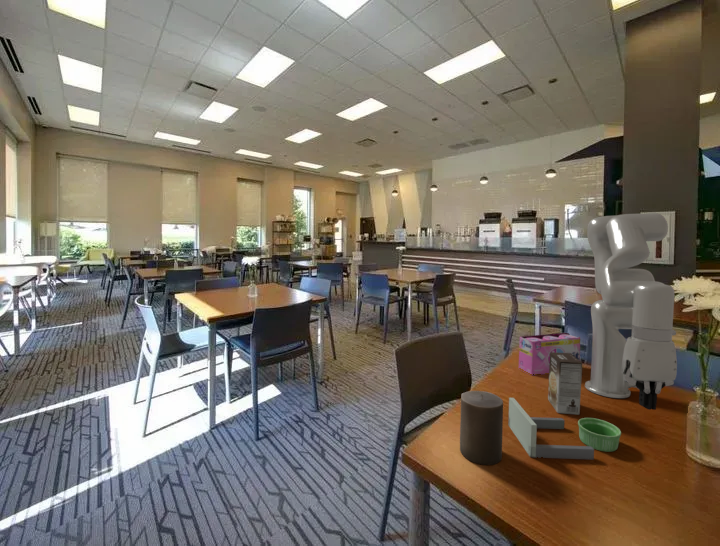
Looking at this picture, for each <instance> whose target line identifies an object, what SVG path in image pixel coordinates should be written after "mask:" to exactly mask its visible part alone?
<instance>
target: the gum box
mask: <svg viewBox="0 0 720 546" xmlns="http://www.w3.org/2000/svg"><path fill="white" fill-rule="evenodd" d="M518 343H519V347H518V349H519V351H518V369H519V368H521V369H523V370H524V371H526V372H528V373H530V374H532V375H531V376H536V375H535V374H541V375H546V374H545V373H549V363H550V352H554V353H571V354H572V355H574V356H575V357H576V358H577V359H578V360H579V361H581V336H578V337H577V336H575V335H572V334H570V333H569V332H558V333H557V332H555V333H549V334H548V333H546V334H537V335H535V334H533V335H520V336H519V342H518ZM524 371H523V372H524ZM526 372H525V373H526ZM528 373H527V374H528ZM530 374H529V375H530ZM533 374H534V375H533Z"/></svg>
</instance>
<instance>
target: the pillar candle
mask: <svg viewBox="0 0 720 546" xmlns="http://www.w3.org/2000/svg"><path fill="white" fill-rule="evenodd" d="M460 397H461V398H460V424H459V425H460V426H459V432H460V433H459V451H460V453H461V455H462V456H463V457H465V458H466V459H467V460H468V461H469V462H472V463H474V464H478V465H483V466H492V465H497V464H499V463H500V462H501V460H502V459H503V457H502V456H503V426H504V425H503V424H504V423H503V422H504V421H503V420H504V400H503V399H502V397H500V396H498V395H497V394H494V393H492V392H488V391H482V390H470V391H466V392H463V393H461V396H460Z"/></svg>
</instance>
